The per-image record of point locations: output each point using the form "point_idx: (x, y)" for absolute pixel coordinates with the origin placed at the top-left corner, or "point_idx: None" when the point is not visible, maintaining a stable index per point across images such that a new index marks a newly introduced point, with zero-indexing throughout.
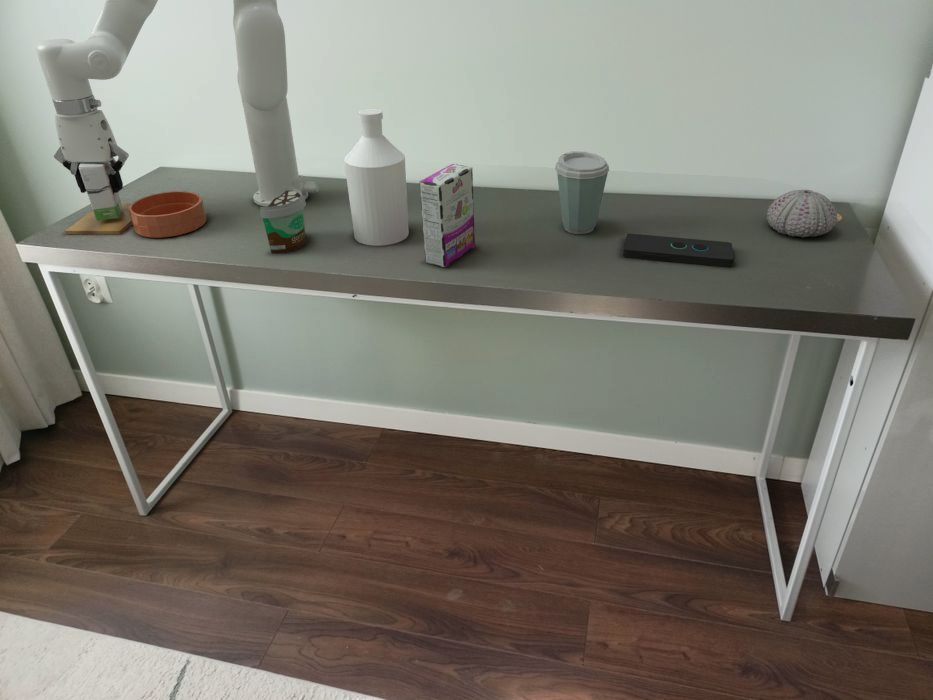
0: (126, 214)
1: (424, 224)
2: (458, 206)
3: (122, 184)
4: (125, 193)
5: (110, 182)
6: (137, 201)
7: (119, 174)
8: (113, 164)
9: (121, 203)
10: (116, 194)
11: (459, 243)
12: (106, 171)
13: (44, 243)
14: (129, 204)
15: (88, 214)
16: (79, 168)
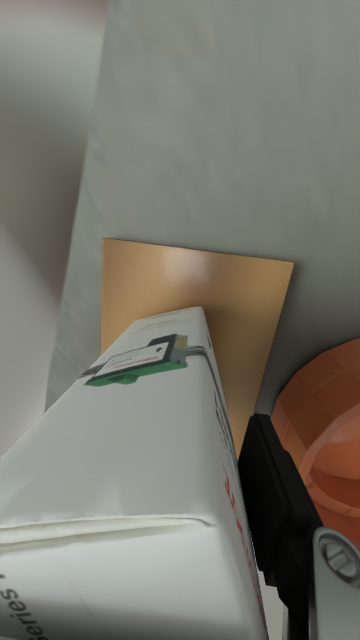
0: (228, 357)
1: None
2: None
3: (286, 454)
4: (136, 71)
5: (249, 518)
6: (318, 450)
7: (316, 519)
8: (335, 627)
9: (203, 313)
10: (223, 395)
11: None
12: (265, 621)
13: None
14: (212, 266)
15: (107, 339)
16: None
